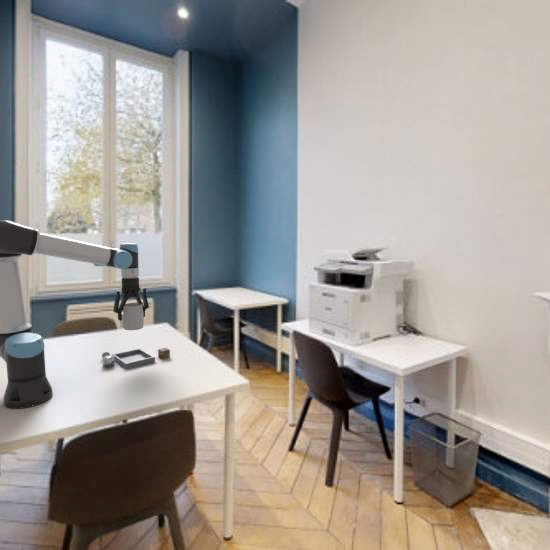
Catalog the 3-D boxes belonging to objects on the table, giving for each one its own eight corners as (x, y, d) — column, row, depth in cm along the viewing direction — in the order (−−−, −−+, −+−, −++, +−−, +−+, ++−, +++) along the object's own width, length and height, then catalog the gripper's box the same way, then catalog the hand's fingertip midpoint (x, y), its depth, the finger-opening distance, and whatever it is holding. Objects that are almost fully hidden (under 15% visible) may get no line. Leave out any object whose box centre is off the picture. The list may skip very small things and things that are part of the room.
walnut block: (162, 359, 186) (162, 351, 185) (158, 357, 189) (158, 349, 188) (169, 357, 188) (169, 349, 188) (166, 355, 191) (165, 347, 191)
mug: (143, 329, 178) (142, 305, 176) (123, 331, 175) (122, 307, 173) (142, 323, 189) (141, 300, 187) (123, 324, 186) (122, 302, 185)
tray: (125, 369, 173) (125, 363, 173) (112, 359, 185) (112, 354, 185) (155, 361, 182) (154, 357, 182) (140, 353, 194) (139, 348, 194)
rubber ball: (103, 361, 182) (103, 353, 182) (100, 359, 185) (100, 351, 184) (111, 359, 185) (111, 352, 184) (108, 357, 187) (108, 350, 187)
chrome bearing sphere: (104, 368, 173) (104, 359, 173) (101, 365, 177) (100, 357, 177) (116, 365, 177) (115, 357, 176) (112, 363, 180) (111, 354, 180)
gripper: (109, 280, 169) (111, 331, 171) (155, 276, 183) (157, 323, 186) (103, 278, 174) (105, 327, 177) (148, 274, 188) (150, 320, 191)
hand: (132, 325), depth 181 cm, fingers closed on mug, 8 cm apart
